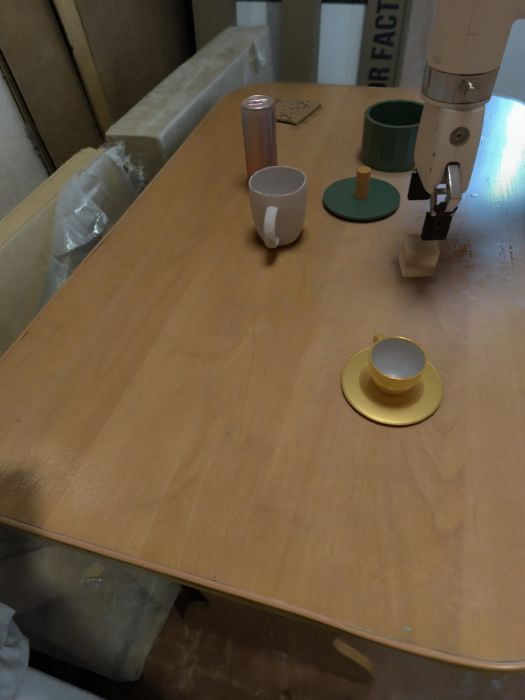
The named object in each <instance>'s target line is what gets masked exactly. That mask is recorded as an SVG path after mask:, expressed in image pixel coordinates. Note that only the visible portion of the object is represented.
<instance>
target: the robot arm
mask: <svg viewBox="0 0 525 700" xmlns="http://www.w3.org/2000/svg"><path fill="white" fill-rule="evenodd" d="M518 20H525V0H437V2H436V7H435V12H434V19H433V24H432V29H431V35H430V38H429V39H430V40H429V45H428V51H427V56H426V61H425V65H424V72H423V76H422V82H421V87H420V93H419V97H420V98H421V100H422V101H423V103H424V108H423V112H422V116H421V120H420V124H419V129H418V133H417V138H416V144H415V151H414V164H413V169H412V172H411V176H410V179H409V185H408V191H407V196H406V198H407V200H408V201H428V200H429V211H426V213H425V217H424V221H423V224H422V229H421V233H420V234H421V239H422V240H423V241H434V240H436V241H445V240H447V237H448V234H449V231H450V227H451V224H452V221H453V217H454V216H455V215H456V211H457V210H458V209H459V204H460V203H461V201H462V199H463V194H464V193H466V192H467V190H469V187H470V183H471V178H472V175H473V171H474V168H475V163H476V161H477V155H478V151H479V147H480V142H481V137H482V134H483V133H482V132H483V127H484V122H485V115H486V114H485V113H486V105H487V104H488V103H489V102H490V101H491V99H492V95H493V93H494V89H495V86H496V83H497V79H498V75H499V72H500V68H501V65H502V61H503V58H504V55H505V52H506V48H507V44H508V41H509V37H510V35H511V31H512V28H513V25H514V23H515V22H516V21H518ZM439 185H445V187H438V186H439ZM438 196H445V197H444V201H440V202H439V203H438Z"/></svg>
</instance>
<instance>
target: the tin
mask: <svg viewBox="0 0 525 700" xmlns="http://www.w3.org/2000/svg"><path fill="white" fill-rule="evenodd" d="M424 103H425V102H420V101H416V100H412V99H385V100H382V101H377V102H375V103H373V104H371V105H369V106H368V107H367V108H366V109H365V111H364V113H363V123H362V134H361V143H360V144H361V145H360V159H361V161H362V163H363V164H364V166H367V167H370V168H371V169H373V170H376V171H379V172H385V173H403V172H408V171H413V164H414V151H415V144H416V138H417V133H418V129H419V124H420V120H421V116H422V112H423V108H424Z"/></svg>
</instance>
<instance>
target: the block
mask: <svg viewBox="0 0 525 700" xmlns="http://www.w3.org/2000/svg"><path fill="white" fill-rule="evenodd" d="M440 253H441V251H440V248H439V245H438V243H437V240H434V241H423V240H422V239H421V233H412V234H410V233H409V234H402V235H401V240H400V246H399V249H398V255H397V262H398V265H399V269H400V273H401V277H402V278H426V277H427V278H428V277H434V275H435V271H436V267H437V264H438V260H439V257H440Z"/></svg>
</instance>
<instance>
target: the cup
mask: <svg viewBox="0 0 525 700" xmlns="http://www.w3.org/2000/svg"><path fill="white" fill-rule="evenodd" d="M340 383H341V389H342V392H343V394H344V397H345V398H346V400H347V401H348V402H349V404H350V405H351V406H352V407H353V408H354V409H355V410H356V411H357V412H359V413H360V414H362V416H364V417H366V418H368V419H370V420H373V421H375V422H378V423H381V424H386V425H390V426H391V425H393V426H403V425H404V426H406V425H411V424H416V423H419V422H422V421H424V420H426V419H427V418H428V417H430V416H431V415H433V413H435V412H436V410H437V409H438V408H439V406H440V405H441V403H442V399H443V396H444V385H443V380H442V377H441V376H440V374H439V371H438V370H437V369H436V368H435V366H434V365H433V364H432V363H431V362H430V361H429V357H428V355H427V352H426V350H425V349H424V348H423V346H422V345H420V344H419V343H418V342H417V341H415V340H414V339H411V338H409V337H405V336H400V335H388V336H385V335H384V333H376V334H374V335H373V338H372V345H371V346H369V347H366V348H363V349H362V350H359V351H358V352H355V354H353V355H352V356H350V358H349V359H348V360H347V361H346V363H345V364H344V366H343V368H342V372H341V377H340Z"/></svg>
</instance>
